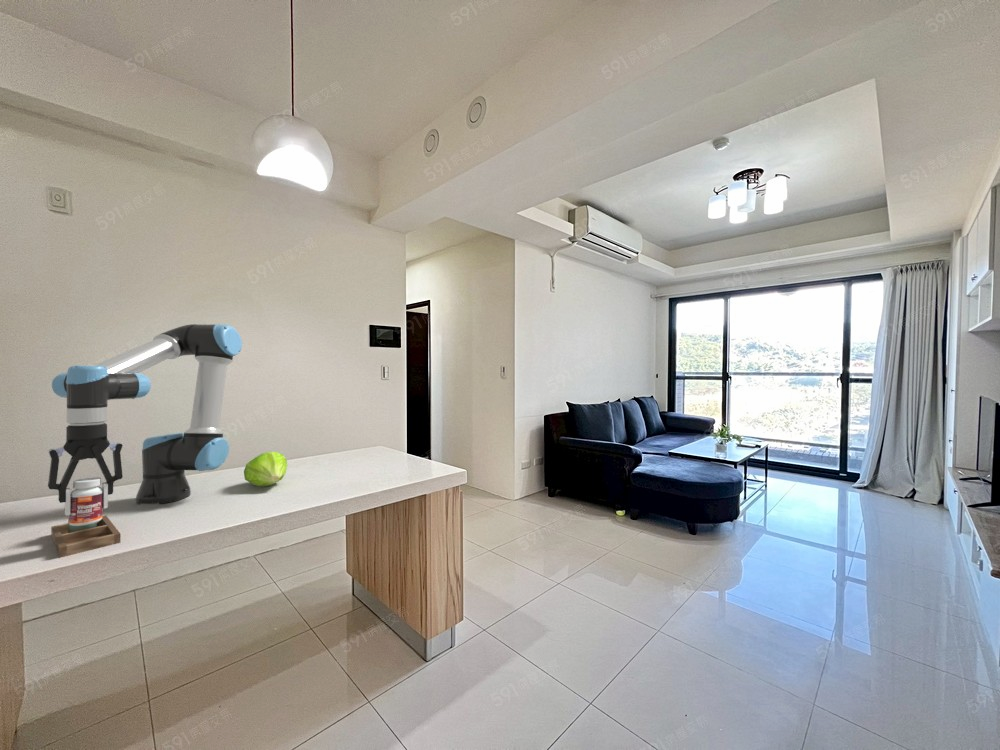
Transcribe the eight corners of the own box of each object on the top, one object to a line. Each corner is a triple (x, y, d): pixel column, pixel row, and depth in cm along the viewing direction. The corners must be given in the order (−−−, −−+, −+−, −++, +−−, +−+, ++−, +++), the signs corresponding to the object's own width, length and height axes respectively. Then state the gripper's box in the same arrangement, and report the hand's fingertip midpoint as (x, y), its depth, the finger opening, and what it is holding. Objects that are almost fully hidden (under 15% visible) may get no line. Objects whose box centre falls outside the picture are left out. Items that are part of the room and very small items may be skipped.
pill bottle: (76, 528, 102) (77, 483, 102) (63, 524, 104) (65, 481, 104) (107, 520, 107) (108, 478, 107) (94, 516, 110) (96, 475, 110)
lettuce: (250, 495, 148) (250, 459, 148) (240, 483, 163) (240, 451, 163) (294, 487, 159) (294, 454, 159) (281, 477, 174) (281, 446, 173)
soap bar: (95, 528, 116) (95, 497, 116) (98, 533, 113) (98, 501, 112) (67, 534, 112) (66, 502, 112) (69, 539, 108) (69, 507, 108)
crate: (106, 525, 120) (106, 515, 120) (120, 544, 107) (120, 533, 107) (51, 537, 111) (51, 526, 111) (59, 560, 98) (59, 547, 98)
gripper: (132, 419, 115) (132, 498, 115) (30, 425, 100) (29, 517, 100) (138, 421, 111) (138, 504, 111) (32, 428, 96) (31, 524, 96)
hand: (86, 510), depth 106 cm, fingers closed on pill bottle, 6 cm apart
